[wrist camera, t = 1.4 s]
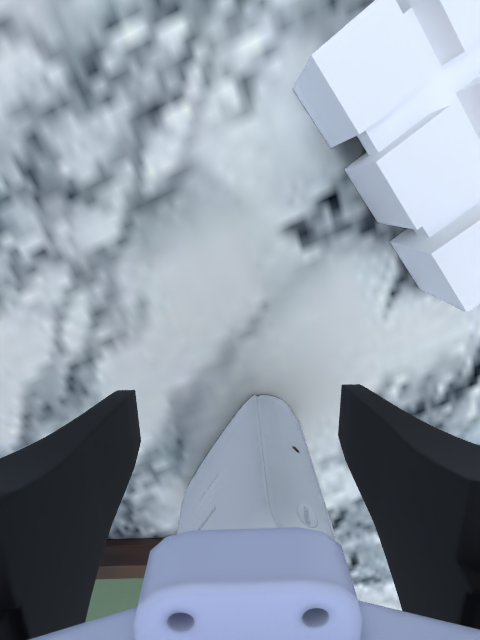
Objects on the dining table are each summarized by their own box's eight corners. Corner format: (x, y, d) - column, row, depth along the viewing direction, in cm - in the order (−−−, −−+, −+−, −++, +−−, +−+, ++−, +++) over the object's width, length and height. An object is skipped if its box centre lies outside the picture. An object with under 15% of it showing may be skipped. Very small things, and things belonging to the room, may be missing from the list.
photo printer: (252, 380, 24) (270, 552, 13) (308, 410, 25) (373, 600, 13) (175, 492, 27) (131, 721, 15) (227, 516, 28) (223, 752, 16)
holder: (50, 678, 33) (38, 711, 31) (15, 541, 28) (-3, 569, 26) (205, 674, 33) (204, 706, 31) (196, 536, 28) (193, 564, 26)
